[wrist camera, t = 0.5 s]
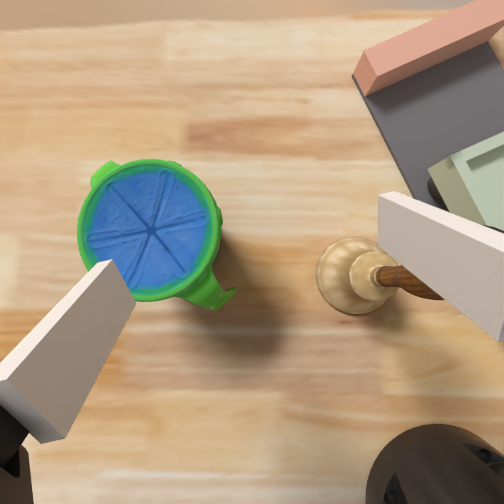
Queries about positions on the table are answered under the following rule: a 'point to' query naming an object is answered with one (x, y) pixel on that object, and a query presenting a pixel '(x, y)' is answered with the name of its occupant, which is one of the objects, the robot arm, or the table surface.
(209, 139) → the table surface
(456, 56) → the track
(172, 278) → the snack cup
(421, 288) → the hand bell
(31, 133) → the table surface
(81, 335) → the robot arm
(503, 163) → the pale green tray
